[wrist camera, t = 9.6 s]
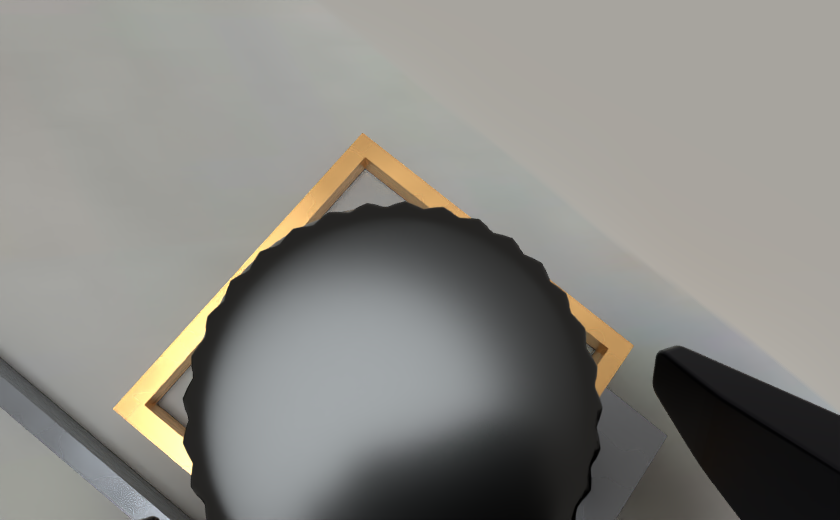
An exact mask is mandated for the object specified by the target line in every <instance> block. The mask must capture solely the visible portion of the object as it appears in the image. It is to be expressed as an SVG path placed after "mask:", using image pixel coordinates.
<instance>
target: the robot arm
mask: <svg viewBox="0 0 840 520" xmlns="http://www.w3.org/2000/svg"><path fill="white" fill-rule="evenodd" d="M653 388H654V391H655V393H656V395H657V397H658V398H659V400H660V402H661V403H662V405H663V407H664V408H665V410H666V412H667V413H668V415H669V416H670V418H671V420H672V421H673V423H674V425H675V426H676V428H677V430H678V431H679V433H680V434H681V436H682V438H683V439H684V441H685V443H686V444H687V446H688V448H689V449H690V451H691V452H692V454H693V456H694V457H695V459H696V460H697V462H698V463H699V465H700V466H701V468H702V469H703V470H704V472H705V473H706V475H707V476H708V477H709V479H710V480H711V481H712V483H713V484H714V485H715V487H716V488H717V489H718V491H719V492H720V493H721V494H722V496H723V497H724V498H725V500H726V501H727V502H728V504H729V505H730V506H731V508H732V509H733V510H734V512H735V513H736V514H737V516H738V517H739V518H740V519H741V520H840V415H838V414H836V413H833V412H831V411H829V410H826V409H824V408H822V407H820V406H817V405H815V404H813V403H811V402H808V401H806V400H804V399H801V398H799V397H797V396H795V395H792V394H790V393H788V392H785V391H783V390H781V389H779V388H776V387H774V386H772V385H769V384H767V383H765V382H763V381H760V380H758V379H756V378H753V377H751V376H749V375H747V374H744V373H742V372H740V371H738V370H735V369H733V368H731V367H728V366H726V365H724V364H722V363H719V362H717V361H715V360H712V359H710V358H708V357H706V356H703V355H701V354H699V353H696V352H694V351H692V350H690V349H687V348H685V347H682V346H673V347H670V348H667V349H664V350H661V351H659V352H658V353H657V355H656V359H655V367H654V374H653ZM141 520H160V519H159V518H158V517H156V516H150V517H147V518H144V519H141Z"/></svg>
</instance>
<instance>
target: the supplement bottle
mask: <svg viewBox="0 0 840 520" xmlns="http://www.w3.org/2000/svg"><path fill="white" fill-rule="evenodd" d="M205 329H206V331H205V334H204V337H203V340H202V342H201V343H200V344H199V345H198V347H197V348H196V349H195V351H194V352H193V354H192V356H191V367H192V371H193V379H192V381H191V382H190V384H189V386H188V388H187V390H186V392H185V395H184V397H183V402H184V407H185V410H186V412H187V415H188V420H189V421H188V424H187V427H186V430H185V433H184V438H183V442H182V443H183V445H184V448H185V450H186V452H187V454H188V456H189V458H190V460H191V461H192V471H191V488H192V489H193V491H194V492H195V493H196V495H197V496H198V497H199V498H200V499H201V500H202V501H203V503H204V504H205V512H206V520H576V512H577V508H578V506H579V505H580V503H581V502H582V501H583V500H585V498H586V497H587V496H588V494H589V493H590V491H591V483H592V477H591V467H592V464H593V462H594V461H595V460H596V459H597V456H598V454H599V452H600V450H601V447H600V440H599V435H598V431H597V425H598V422H599V420H600V417H601V413H602V409H603V406H602V403H601V400H600V397H599V395H598V393H597V390H596V388H595V382H596V378H597V368H598V367H597V365H596V363H595V361H594V359H593V358H592V356H591V355H590V353H589V352H588V350H587V348H586V330H585V327H584V326H583V325H582V324H581V323H580V321H579V320H578V319H577V318H576V317H575V316H574V315H573V314H572V313H571V310H570V304H569V300H568V297H567V294H566V293H565V292H564V291H563V290H562V289H560V288H559V287H558V286H556V285H555V284H553V283H552V282H551V281H550V279H549V277H548V274H547V272H546V270H545V268H544V266H543V264H542V263H541V262H539V261H537V260H535V259H533V258H531V257H529V256H527V255H524V254H523V252H522V251H521V250H520V248H519V246H518V245H517V243H516V242H515V241H514V240H513V238H510V237H507V236H504V235H500V234H496V233H493V232H492V231H491V230H490V229H489V228H488V227H487V226H486V225H485V224H484V223H483V222H482V221H481V220H480V219H473V218H459V217H458V216H456V215H454V214H453V213H452V212H451V211H449V210H448V209H446V208H444V207H433V208H427V209H423V208H421V207H418V206H416V205H414V204H411V203H408V202H406V201H404V202H401V203H397V204H394V205H391V206H389V207H382V206H378V205H375V204H369V203H366V204H364V205H362V206H360V207H358V208H356V209H354V210H350V211H344V212H329V213H327V214H326V215H324V216H323V217H322V218H321V219H319V220H316V221H314V222H311V223H308V224H306V225H305V226H302V227H298V228H293V229H292V230H291V231H290V232H289V233H288V234H287V235H286V236H285V237H283V238H282V239H280V240H278V241H277V242H275V243H274V244H273V245H272V246H270V247H269V248H267V249H265V250H262V251H260V252H259V253H258V255H257V256H256V258H255V259H254V261H253V262H252V263H251V264H250V265H249V266H248V267H247V268H246V269H245V270H244V271H243V272H242V273H241V274H240V275H238V276H237V277H235V278H234V279H232V280H231V281H230V283H229V286H228V288H227V290H226V294H225V295H224V297H223V298H222V300H221V302H220V304H219V305H218V306H217V307H216V308H215V309H214V310H213V311H212V312H211V313H210V314H209V315H208V316H207V320H206V326H205Z"/></svg>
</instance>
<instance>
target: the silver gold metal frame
mask: <svg viewBox="0 0 840 520" xmlns="http://www.w3.org/2000/svg"><path fill="white" fill-rule="evenodd" d="M365 168H366V169H367V170H368V171H369V172H371V173H372V174H373V175H374V176H376V177H377V178H378V179H379V180H381V181H382V182H383V183H385V184H386V185H387V186H388V187H390V188H391V189H392V190H393V191H395V192H396V193H397V194H399V195H400V196H401V197H402V198H404V199H405V200H406V201H407V202H409V203H411V204H414V205H416V206H418V207H421V208H423V209H427V208H433V207H444V208H446V209H448V210H449V211H451V212H452V213H453V214H454V215H456V216H458V217H459V218H471V217H469V216H468V215H467V214H465V213H464V212H463V211H462V210H460V209H459V208H458V207H456V206H455V205H454V204H453V203H451V202H450V201H449V200H448V199H446V198H445V197H444V196H442V195H441V194H440V193H439V192H437V191H436V190H435V189H434V188H432V187H431V186H430V185H428V184H427V183H426V182H425V181H423V180H422V179H421V178H420V177H418V176H417V175H416V174H414V173H413V172H412V171H411V170H409V169H408V168H407V167H406V166H404V165H403V164H402V163H400V162H399V161H398V160H397V159H395V158H394V157H393V156H391V155H390V154H389V153H388V152H386V151H385V150H384V149H383V148H381V147H380V146H379V145H377V144H376V143H375V142H374V141H372V140H371V139H370V138H369V137H367V136H366V135H365V134H363V133H362V134H361V135H360V136H359V137H358V139H357V140H356V141H355V142H354V143H353V144H352V145H351V146H350V147H349V149H348V150H347V151H346V152H345V153H344V154H343V155H342V156H341V157H340V158H339V160H338V161H337V162H336V163H335V164H334V165H333V166H332V167H331V168H330V170H329V171H328V172H327V173H326V174H325V175H324V176H323V177H322V178H321V179H320V181H319V182H318V183H317V184H316V185H315V186H314V187H313V188H312V189H311V190H310V192H309V193H308V194H307V195H306V196H305V197H304V198H303V199H302V200H301V202H300V203H299V204H298V205H297V206H296V207H295V208H294V209H293V210H292V211H291V213H290V214H289V215H288V216H287V217H286V218H285V219H284V220H283V221H282V223H281V224H280V225H279V226H278V227H277V228H276V229H275V230H274V231H273V232H272V234H271V235H270V236H269V237H268V238H267V239H266V240H265V241H264V242H263V244H262V245H261V246H260V247H259V248H258V249H257V250H256V251H255V252H254V253H253V255H252V256H251V257H250V258H249V259H248V260H247V261H246V262H245V263H244V265H243V266H242V267H241V268H240V269H239V270H238V271H237V272H236V273H235V274H234V276H233V277H232V278H231V279H230V280H229V281H228V282H227V283H226V284H225V286H224V287H223V288H222V289H221V290H220V291H219V292H218V293H217V294H216V295H215V297H214V298H213V299H212V300H211V301H210V302H209V303H208V304H207V305H206V307H205V308H204V309H203V310H202V311H201V312H200V313H199V314H198V315H197V316H196V318H195V319H194V320H193V321H192V322H191V323H190V324H189V325H188V326H187V328H186V329H185V330H184V331H183V332H182V333H181V334H180V335H179V336H178V337H177V339H176V340H175V341H174V342H173V343H172V344H171V345H170V346H169V347H168V349H167V350H166V351H165V352H164V353H163V354H162V355H161V356H160V357H159V358H158V360H157V361H156V362H155V363H154V364H153V365H152V366H151V367H150V368H149V370H148V371H147V372H146V373H145V374H144V375H143V376H142V377H141V378H140V379H139V381H138V382H137V383H136V384H135V385H134V386H133V387H132V388H131V389H130V391H129V392H128V393H127V394H126V395H125V396H124V397H123V398H122V399H121V400H120V402H119V403H118V404H117V405H116V406H115V407H114V408H113V409H114V410H115V411H116V412H117V413H118V414H119V415H121V416H122V417H123V418H124V419H125V420H127V421H128V422H129V423H130V424H131V425H133V426H134V427H135V428H136V429H137V430H139V431H140V432H141V433H142V434H143V435H144V436H146V437H147V438H148V439H149V440H150V441H152V442H153V443H154V444H155V445H156V446H158V447H159V448H160V449H161V450H162V451H163V452H165V453H166V454H167V455H168V456H169V457H171V458H172V459H173V460H174V461H175V462H177V463H178V464H179V465H180V466H181V467H183V468H184V469H185V470H186V471H187V472H188V473H190V474H191V471H192V461H191V460H190V458H189V456H188V454H187V452H186V450H185V448H184V445H183V443H182V442H183V438H184V433H185V430H186V428H185V427H184V426H183V425H181V424H180V423H179V422H178V421H177V420H175V419H174V418H173V417H172V416H171V415H169V414H168V413H167V412H166V411H165V410H163V409H162V408H161V407H160V406H159V405H157V404H156V403H157V402H158V401H159V400H160V399H161V398H162V397H163V396H164V394H165V393H166V392H167V391H168V390H169V389H170V388H171V387H172V385H173V384H174V383H175V382H176V381H177V380H178V379H179V378H180V376H181V375H182V374H183V373H184V372H185V371H186V370H187V368H188V367H189V366H190V365H191V356H192V354H193V352H194V351H195V349H196V348H197V347H198V345H199V344H200V343H201V342H202V340H203V337H204V334H205V331H206V329H205V326H206V320H207V316H208V315H209V314H210V313H211V312H212V311H213V310H214V309H215V308H216V307H217V306H218V305H219V304H220V302H221V300H222V298H223V297H224V295H225V294H226V290H227V288H228V286H229V283H230V281H231V280H232V279H234V278H235V277H237V276H238V275H240V274H241V273H242V272H243V271H244V270H245V269H246V268H247V267H248V266H249V265H250V264H251V263H252V262H253V261H254V259H255V258H256V256H257V255H258V253H259V252H260V251H262V250H265V249H267V248H269V247H270V246H272V245H273V244H274V243H275V242H277V241H278V240H280V239H282V238H283V237H285V236H286V235H287V234H288V233H289V232H290V231H291V230H292V229H293V228H298V227H302V226H305V225H306V224H308V223H311V222H314V221H316V220H319V219H320V218H321V217H322V216H323V215H324V214H325V213H326V212H327V210H328V209H329V208H330V207H331V206H332V205H333V204H334V203H335V201H336V200H337V199H338V198H339V197H340V196H341V195H342V194H343V192H344V191H345V190H346V189H347V188H348V187H349V186H350V184H351V183H352V182H353V181H354V180H355V179H356V178H357V177H358V175H359V174H360V173H361V172H362V171H363V170H364V169H365ZM550 281H551V280H550ZM551 282H552V281H551ZM552 283H553V282H552ZM553 284H555V283H553ZM555 285H556V284H555ZM556 286H557V285H556ZM559 288H560V287H559ZM560 289H561V288H560ZM563 291H564V290H563ZM564 292H565V291H564ZM565 293H566V292H565ZM566 294H567V293H566ZM567 297H568V300H569V304H570V310H571V313H572V314H573V315H574V316H575V317H576V318H577V319H578V320H579V321H580V323H581V324H582V325H583V326H584V327H585V330H586V343H587V344H589V345H590V346H591V347H593V348H594V349H595V350H596V351H595V352H594V354H593V355H592V358H593V359H594V361H595V363H596V365H597V367H598V368H597V378H596V382H595V388H596V390H597V393H598V395H599V397H600V400H601V403H602V406H603V409H602V413H601V417H600V420H599V422H598V425H597V431H598V435H599V440H600V447H601V450H600V452H599V454H598V456H597V459H596V460H595V461H594V462H593V464H592V467H591V477H592V483H591V491H590V493H589V494H588V496H587V497H586V498H585V500H583V501H582V502H581V503H580V505H579V506H578V508H577V512H576V520H615V519H616V518H617V516H618V514H619V513H620V511H621V510H622V508H623V506H624V505H625V503H626V502H627V500H628V498H629V497H630V495H631V494H632V492H633V490H634V489H635V487H636V486H637V484H638V482H639V481H640V479H641V478H642V476H643V474H644V473H645V471H646V469H647V468H648V466H649V465H650V463H651V461H652V460H653V458H654V457H655V455H656V453H657V452H658V450H659V449H660V447H661V445H662V444H663V442H664V441H665V439H666V437H667V435H666V434H664V433H663V432H662V431H661V430H659V429H658V428H657V427H656V426H654V425H653V424H652V423H651V422H649V421H648V420H647V419H646V418H644V417H643V416H642V415H641V414H639V413H638V412H637V411H635V410H634V409H633V408H632V407H630V406H629V405H628V404H627V403H625V402H624V401H623V400H622V399H620V398H619V397H618V396H617V395H615V394H614V393H613V392H611V391H610V390H609V389H608V388H606V386H607V385H608V383H609V382H610V380H611V379H612V377H613V376H614V374H615V373H616V372H617V370H618V369H619V367H620V366H621V364H622V363H623V361H624V360H625V358H626V357H627V355H628V354H629V352H630V351H631V349H632V348H633V346H634V345H632V344H631V343H630V342H629V341H627V340H626V339H625V338H623V337H622V336H621V335H620V334H618V333H617V332H616V331H615V330H613V329H612V328H611V327H609V326H608V325H607V324H606V323H604V322H603V321H602V320H601V319H599V318H598V317H597V316H595V315H594V314H593V313H592V312H590V311H589V310H588V309H586V308H585V307H584V306H583V305H581V304H580V303H579V302H578V301H576V300H575V299H574V298H572V297H571V296H570V295H569V294H567ZM0 407H1V408H2V409H3V410H5V411H6V412H7V413H8V414H9V415H10V416H12V417H13V418H14V419H15V420H16V421H18V422H19V423H20V424H21V425H22V426H23V427H25V428H26V429H27V430H28V431H29V432H30V433H32V434H33V435H34V436H35V437H36V438H37V439H39V440H40V441H41V442H42V443H43V444H45V445H46V446H47V447H48V448H49V449H50V450H52V451H53V452H54V453H55V454H56V455H57V456H59V457H60V458H61V459H62V460H63V461H64V462H66V463H67V464H68V465H69V466H70V467H71V468H73V469H74V470H75V471H76V472H77V473H79V474H80V475H81V476H82V477H83V478H84V479H86V480H87V481H88V482H89V483H90V484H91V485H93V486H94V487H95V488H96V489H97V490H98V491H100V492H101V493H102V494H103V495H104V496H106V497H107V498H108V499H109V500H110V501H111V502H113V503H114V504H115V505H116V506H117V507H118V508H120V509H121V510H122V511H123V512H124V513H125V514H127V515H128V516H129V517H130V518H131V519H133V520H141V519H144V518H147V517H150V516H156V517H158V518H159V519H160V520H191V519H190V518H189V517H188V516H186V515H185V514H184V513H183V512H182V511H180V510H179V509H178V508H177V507H176V506H175V505H173V504H172V503H171V502H170V501H169V500H167V499H166V498H165V497H164V496H163V495H162V494H160V493H159V492H158V491H157V490H156V489H154V488H153V487H152V486H151V485H150V484H149V483H147V482H146V481H145V480H144V479H143V478H141V477H140V476H139V475H138V474H137V473H136V472H134V471H133V470H132V469H131V468H130V467H128V466H127V465H126V464H125V463H124V462H123V461H121V460H120V459H119V458H118V457H117V456H115V455H114V454H113V453H112V452H111V451H110V450H108V449H107V448H106V447H105V446H104V445H102V444H101V443H100V442H99V441H98V440H97V439H95V438H94V437H93V436H92V435H91V434H89V433H88V432H87V431H86V430H85V429H84V428H82V427H81V426H80V425H79V424H78V423H76V422H75V421H74V420H73V419H72V418H71V417H69V416H68V415H67V414H66V413H65V412H63V411H62V410H61V409H60V408H59V407H58V406H56V405H55V404H54V403H53V402H52V401H50V400H49V399H48V398H47V397H46V396H45V395H43V394H42V393H41V392H40V391H39V390H37V389H36V388H35V387H34V386H33V385H32V384H30V383H29V382H28V381H27V380H26V379H24V378H23V377H22V376H21V375H20V374H19V373H17V372H16V371H15V370H14V369H13V368H11V367H10V366H9V365H8V364H7V363H6V362H4V361H3V360H2V359H1V358H0Z"/></svg>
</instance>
